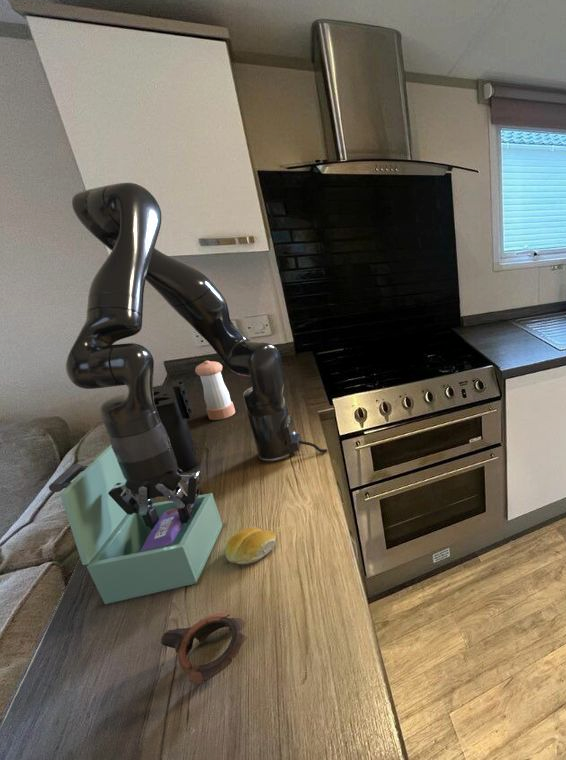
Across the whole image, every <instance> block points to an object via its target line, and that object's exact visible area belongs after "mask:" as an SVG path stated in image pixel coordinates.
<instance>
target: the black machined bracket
mask: <svg viewBox="0 0 566 760" xmlns="http://www.w3.org/2000/svg"><path fill="white" fill-rule="evenodd" d="M187 394H188V393H187V391H186V389H185V385H184V382H183V379H176V380H174V381H172V386H164V385H163V384H159V385H155V386H153V396H154V403H155V406H156V409H157V412H158V414H159V417H160V420H161V423H162V425H163V426H164V428H165V430H166V432H167V435H168V437H169V438H170V443H171V446H172V449H173V452H174V455H175V458H176V461H177V466H178V468H179V469H181V470H182V471H183V473H188V472H189V471H190V470H193V468H194V467H195V466H196V465H197V459H196V458H197V457H196V456H197V455H196V450H195V443H194V440H193V436H192V434H191V430H190V427H189V425H188V421H187V419H188V420H190V419H192V418H193V417H194V415H193V410H192V407H191V405H190V401H189V397H188V396H187Z"/></svg>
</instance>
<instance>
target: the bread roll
mask: <svg viewBox="0 0 566 760" xmlns="http://www.w3.org/2000/svg"><path fill="white" fill-rule="evenodd" d="M276 540H277V536H276V534H275V533H274V532H273V531H272V530H266V529H265V530H264V529H262V528H260V527H256V526H251V527H246V528H243V529H241V530H239V531H237V532H236V533H235V534H233V535H232V536H231V537H230V538H229V540H228V541H226V544H225V550H224V555H225V558H226V559H227V561H228V562H230V563H232V564H238V565H249V564H253V563H256V562H258V561H260V560H261V559H263V558H264V557H265V556H267V555H268V554H269V553H270V552H271V551H273V550H274V548H275V547H276Z"/></svg>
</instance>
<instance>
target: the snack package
mask: <svg viewBox="0 0 566 760" xmlns="http://www.w3.org/2000/svg"><path fill="white" fill-rule="evenodd" d="M193 505H194V504H192V505H190V506H191V508H192V507H193ZM177 509H178V508H175V509H170V510H166V511H165V512H164V513H163V514H162V515H161V517H160V519H159V520H158V522H157V523H156V525H155V526H154V528H153V530H152V531H151V532H150V534H149V536H148V537H147V539H146V541H145V543H144V546H143V547H142V548H141V550H140V552H142V551H145V550H149V549H153V548H157V547H161V546H165V545H169V544H171V543H172V542H173V541H174V539H175V538H176V536H177V535H178V533H179V531H180V529H181V527H182V526H183V524H184V523H182V522H181V519H180V516H179V513H178V511H177Z"/></svg>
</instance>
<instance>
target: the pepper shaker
mask: <svg viewBox="0 0 566 760" xmlns="http://www.w3.org/2000/svg"><path fill="white" fill-rule="evenodd" d="M194 370H195V371H194V372H195V374H196V375H197V376H199V377H200V381H201V385H202V388H203V389H202V390H203V399H204V402H205V405H206V408H205V410H206V414H207V417H208V419H209V420H212V421H218V420H225V419H228V418H229V417H232V416H234V415H235V414H236V409H235V406H234V402H233V401H232V400H231V395H230V392H229V390H228V388H227V386H226V383H225V382H224V378H223V375H222V371H223V365H222V364H221V363H220V362H219V361H214V360H213V361H211V360H205V361H203V362H202V363H200V364H199V365H196V367H195V369H194Z"/></svg>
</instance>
